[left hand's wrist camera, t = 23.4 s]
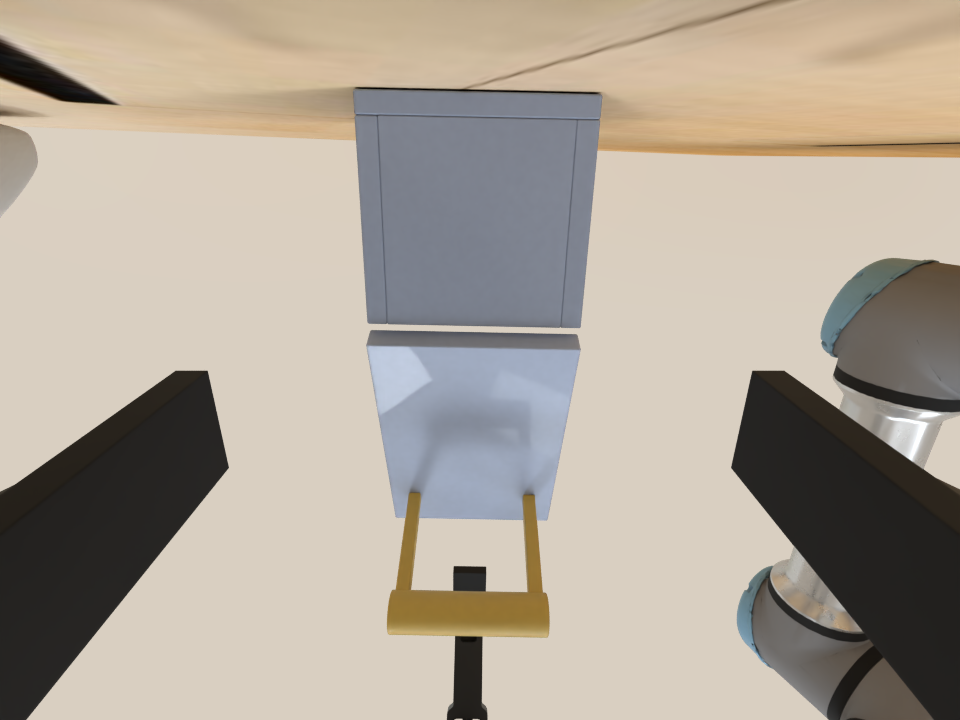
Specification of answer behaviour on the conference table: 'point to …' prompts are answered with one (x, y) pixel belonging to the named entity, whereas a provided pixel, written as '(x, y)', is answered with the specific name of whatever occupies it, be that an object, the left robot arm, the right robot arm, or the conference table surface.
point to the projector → (15, 164)
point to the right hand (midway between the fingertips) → (468, 640)
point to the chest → (475, 205)
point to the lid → (471, 458)
